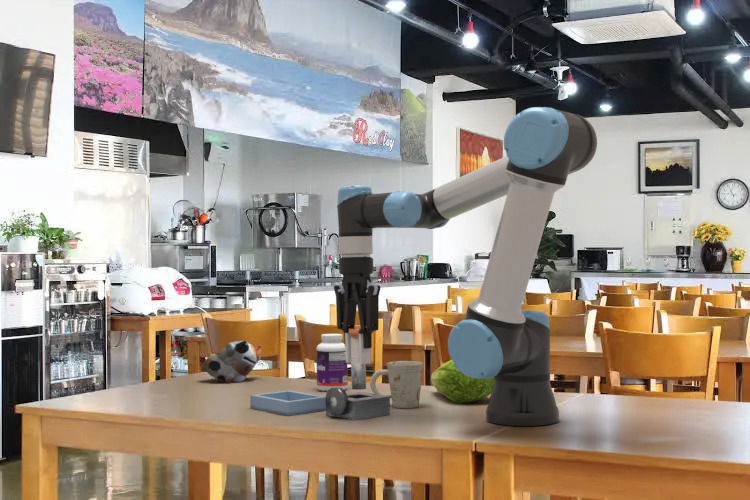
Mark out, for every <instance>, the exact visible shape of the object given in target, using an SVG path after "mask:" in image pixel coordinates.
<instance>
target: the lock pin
mask: <svg viewBox="0 0 750 500" xmlns="http://www.w3.org/2000/svg"><path fill="white" fill-rule="evenodd" d="M360 331H361V327H354V328H349V334H350V337H351V363H350V369H351V370H350V375H351V381H350V382H351V390H357V391H358V390H366V389H367V370H366V369H367V368H366V365H367V364H359V332H360Z"/></svg>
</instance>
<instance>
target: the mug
mask: <svg viewBox="0 0 750 500" xmlns="http://www.w3.org/2000/svg"><path fill="white" fill-rule="evenodd" d="M386 368H387V369H378V370H376V371H375V372H374V373H373V374H372V376H371V378H370V382H369V384H370V385H369V386H370V390H371V391H372V394H378V395H384V396H390V399H391V405H392V407H393V408H396V409H414V408H418V407H419V406H420V400H421V399H420V398H421V389H422V388H421V387H422V382H423V372H424V371H423V370H424V362H422V361H415V360H414V361H413V360H398V361H390V362H387V363H386ZM380 376H388V381H389V382H388V383H389V390H390V394H382V393H381V392H379V390H378V388H377V387H376V382H377V379H378V378H379V377H380Z"/></svg>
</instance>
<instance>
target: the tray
mask: <svg viewBox="0 0 750 500" xmlns="http://www.w3.org/2000/svg"><path fill="white" fill-rule="evenodd" d="M249 397H250V398H249V399H250V404H249V405H250V407H249V408H250V409H253V410H257V411H262V412H267V413H272V414H276V415H283V416H286V417H287V416H288V417H290V416H291V417H292V416H296V415H303V414H304V415H305V414H310V413H317V412H325V411H324V410H326V395H325V396H324V395H320V394H319V395H318V394H314V393H313V394H312V393H307V392H302V391H301V392H300V391H295V390H294V391H293V390H282V391H275V392H267V393H258V394H250V396H249Z"/></svg>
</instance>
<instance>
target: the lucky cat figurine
mask: <svg viewBox="0 0 750 500" xmlns="http://www.w3.org/2000/svg"><path fill="white" fill-rule="evenodd" d="M261 348H262V346H260V345H256V346H254V345H252V343H250V342H249V341H246V340H240V341H237V340H235V341H231V342H228V343H227V344H226V345H225V346H224V348H222V349H221V350H220V352H219V353H216V354H213V355H210V356H209V357H207V358H206V359H205V360H204V362H203V363H202V364H201V365H200V368H202V369H203V370H204V371H205V372H206V373H207V374H208V375H210V377H213V378H214V379H216V380H219V381H222V382H223V384H236V383H238V384H239V383H243V382H244V381H245V379H247V376H248V375H249V373H251V372H252V371H253V369H254V368H255V367H256V365H257V363H259V361H260V360H261V355H262V351H261Z"/></svg>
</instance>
